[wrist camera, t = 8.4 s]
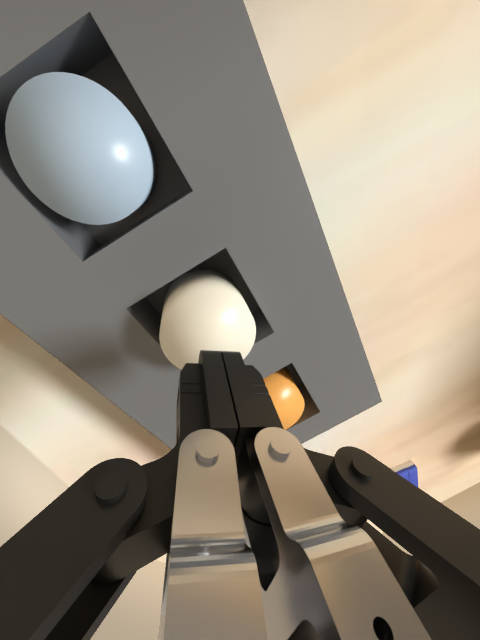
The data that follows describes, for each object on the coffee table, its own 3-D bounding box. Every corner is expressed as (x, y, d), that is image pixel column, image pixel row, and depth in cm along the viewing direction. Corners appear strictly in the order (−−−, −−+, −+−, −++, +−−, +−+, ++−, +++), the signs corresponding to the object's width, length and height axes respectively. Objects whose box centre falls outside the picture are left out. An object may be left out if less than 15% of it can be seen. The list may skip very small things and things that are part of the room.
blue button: (23, 136, 11) (-31, 122, 8) (111, 75, 10) (86, 38, 8) (102, 231, 13) (80, 246, 10) (176, 183, 13) (174, 185, 10)
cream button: (146, 297, 14) (137, 327, 11) (217, 253, 13) (226, 273, 11) (193, 352, 16) (195, 388, 13) (255, 316, 16) (271, 345, 13)
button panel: (-116, 132, 11) (-257, 110, 7) (170, -82, 10) (163, -227, 6) (213, 442, 24) (219, 486, 20) (351, 367, 23) (381, 401, 19)
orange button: (220, 375, 19) (227, 409, 16) (273, 345, 18) (289, 375, 16) (248, 409, 21) (258, 444, 18) (295, 383, 21) (313, 414, 18)
